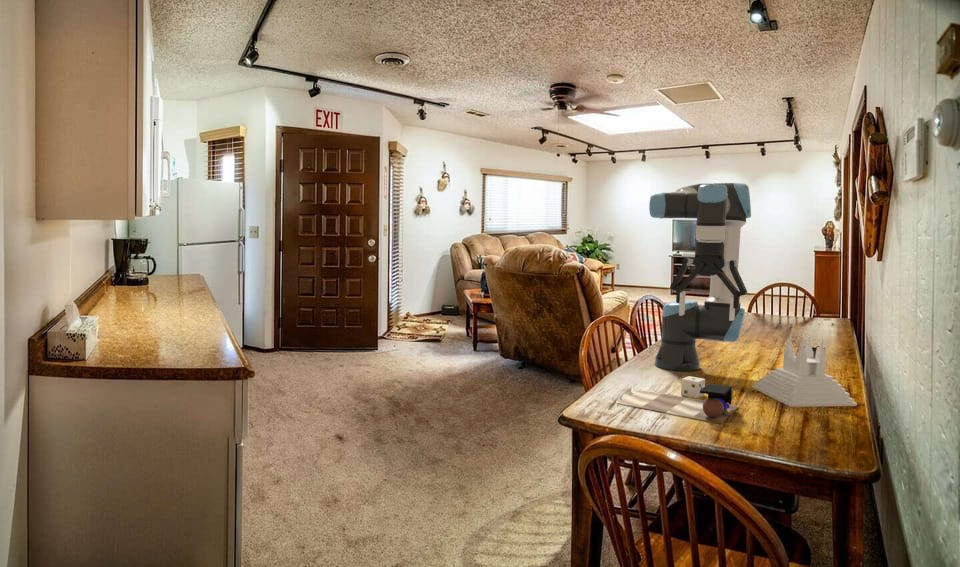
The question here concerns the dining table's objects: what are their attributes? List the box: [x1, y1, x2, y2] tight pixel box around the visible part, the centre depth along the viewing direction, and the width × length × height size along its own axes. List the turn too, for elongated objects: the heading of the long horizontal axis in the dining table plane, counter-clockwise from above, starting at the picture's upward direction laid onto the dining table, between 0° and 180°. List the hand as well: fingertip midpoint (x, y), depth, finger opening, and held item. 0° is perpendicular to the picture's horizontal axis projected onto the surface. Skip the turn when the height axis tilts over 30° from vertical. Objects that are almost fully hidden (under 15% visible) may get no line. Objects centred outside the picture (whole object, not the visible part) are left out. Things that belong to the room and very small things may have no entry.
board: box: [616, 389, 739, 425], centre depth 172 cm, size 18×28×1 cm, turn 54°
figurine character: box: [700, 383, 734, 418], centre depth 166 cm, size 7×8×15 cm
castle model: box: [751, 333, 858, 408], centre depth 184 cm, size 20×20×18 cm
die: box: [680, 375, 706, 399], centre depth 183 cm, size 5×5×5 cm
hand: (706, 317), depth 173 cm, fingers open, 13 cm apart
